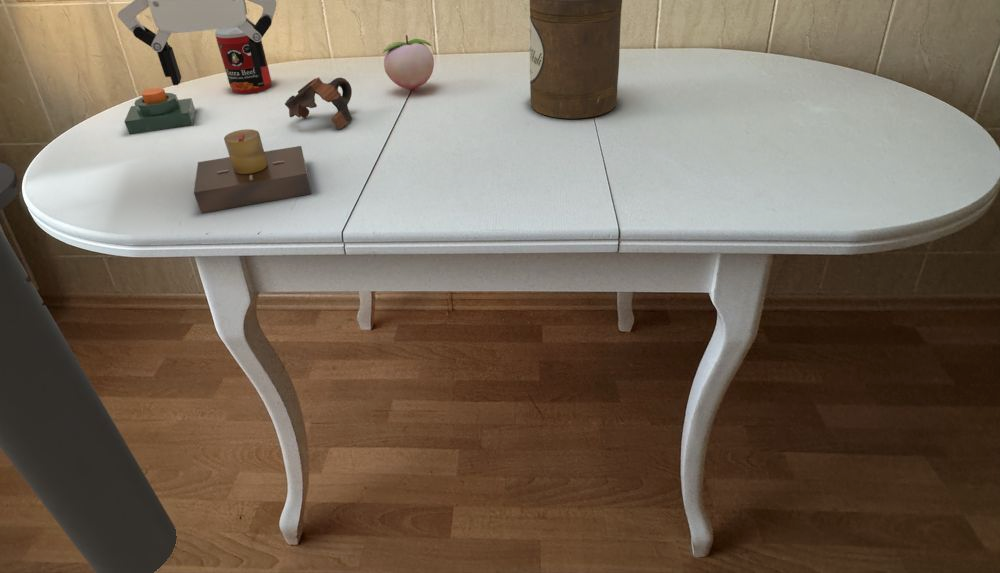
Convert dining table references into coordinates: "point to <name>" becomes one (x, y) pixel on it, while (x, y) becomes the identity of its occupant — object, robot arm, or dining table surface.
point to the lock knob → (246, 151)
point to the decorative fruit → (409, 63)
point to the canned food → (240, 62)
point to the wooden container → (574, 56)
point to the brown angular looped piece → (326, 93)
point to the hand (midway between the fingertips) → (219, 77)
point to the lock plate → (251, 181)
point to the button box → (160, 114)
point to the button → (154, 95)
